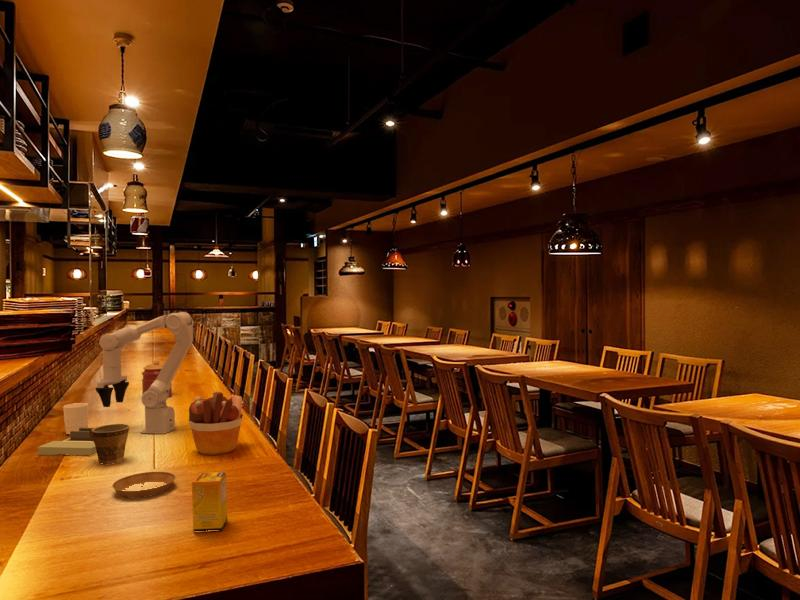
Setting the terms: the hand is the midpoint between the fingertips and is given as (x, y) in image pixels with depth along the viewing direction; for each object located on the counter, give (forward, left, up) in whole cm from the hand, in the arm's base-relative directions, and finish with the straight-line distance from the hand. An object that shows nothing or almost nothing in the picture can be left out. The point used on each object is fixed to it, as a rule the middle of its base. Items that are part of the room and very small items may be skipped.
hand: (113, 404), depth 203 cm
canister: (+19, -62, -10) cm, 66 cm away
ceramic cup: (-19, +32, -10) cm, 39 cm away
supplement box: (-71, +74, -10) cm, 103 cm away
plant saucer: (-44, +54, -10) cm, 70 cm away
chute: (-2, +17, -10) cm, 20 cm away
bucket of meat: (-48, +20, -10) cm, 53 cm away
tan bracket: (-2, +21, -10) cm, 23 cm away
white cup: (+13, +2, -10) cm, 17 cm away
